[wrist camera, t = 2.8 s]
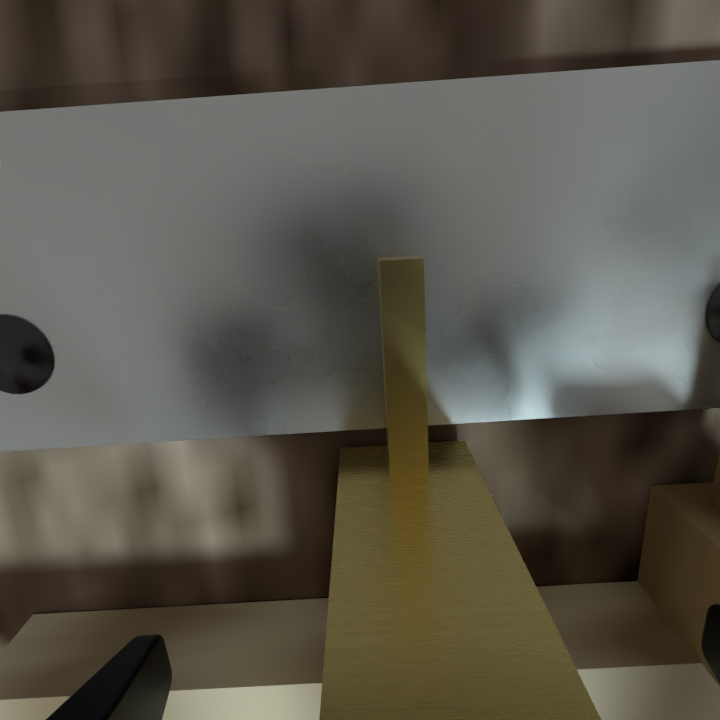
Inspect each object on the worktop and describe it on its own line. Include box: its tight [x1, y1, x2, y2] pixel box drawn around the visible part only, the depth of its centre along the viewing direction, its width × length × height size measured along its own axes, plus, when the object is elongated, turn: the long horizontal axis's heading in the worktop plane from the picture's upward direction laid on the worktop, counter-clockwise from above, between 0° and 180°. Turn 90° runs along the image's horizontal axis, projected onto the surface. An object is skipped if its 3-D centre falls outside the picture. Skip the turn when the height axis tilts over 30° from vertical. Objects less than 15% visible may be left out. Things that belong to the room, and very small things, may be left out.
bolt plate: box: [0, 60, 720, 451], centre depth 10 cm, size 20×7×1 cm, turn 94°
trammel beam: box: [0, 451, 720, 720], centre depth 9 cm, size 20×10×6 cm, turn 94°
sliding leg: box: [319, 255, 601, 720], centre depth 8 cm, size 3×11×7 cm, turn 4°
